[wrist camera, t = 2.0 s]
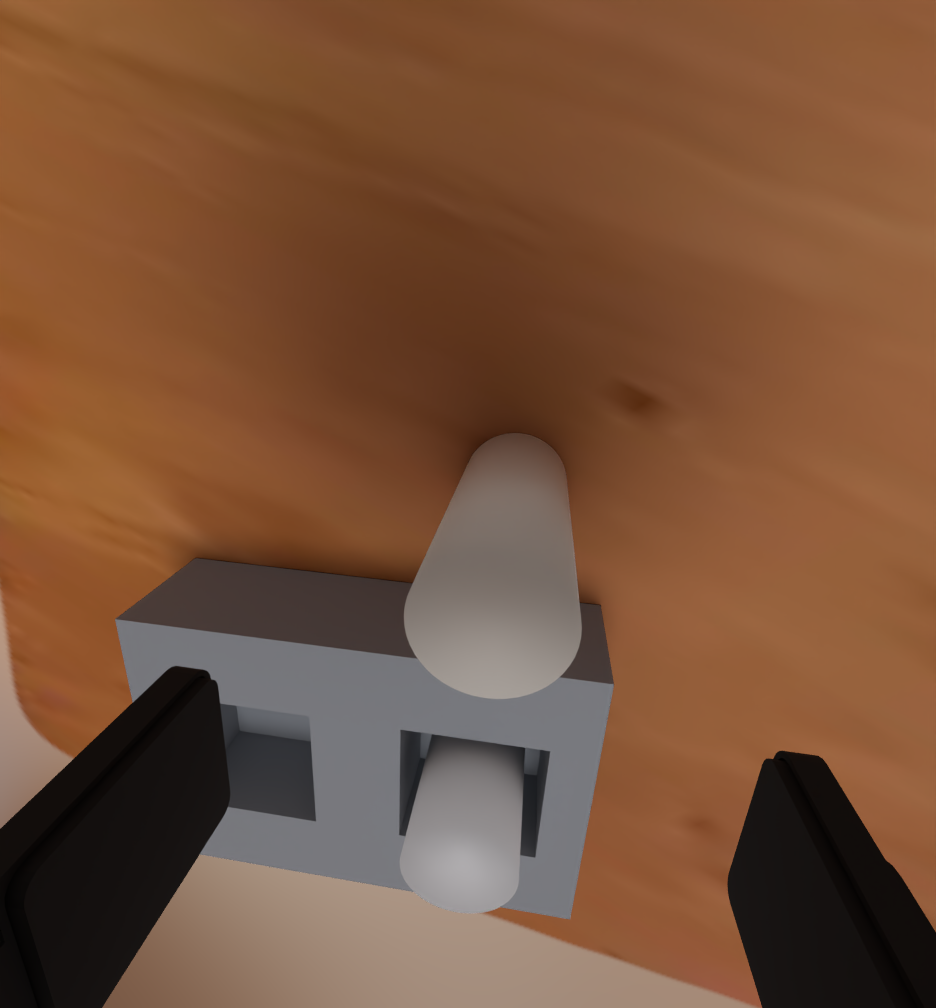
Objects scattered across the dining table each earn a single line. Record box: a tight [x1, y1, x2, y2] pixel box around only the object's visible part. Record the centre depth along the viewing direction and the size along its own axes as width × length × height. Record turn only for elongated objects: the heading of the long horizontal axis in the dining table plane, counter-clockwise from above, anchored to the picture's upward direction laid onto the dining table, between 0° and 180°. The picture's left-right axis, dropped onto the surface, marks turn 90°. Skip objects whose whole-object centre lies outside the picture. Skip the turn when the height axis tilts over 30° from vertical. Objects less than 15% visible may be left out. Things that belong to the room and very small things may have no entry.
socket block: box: [115, 558, 614, 919], centre depth 22 cm, size 12×18×8 cm, turn 87°
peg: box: [404, 433, 582, 699], centre depth 17 cm, size 4×4×10 cm
